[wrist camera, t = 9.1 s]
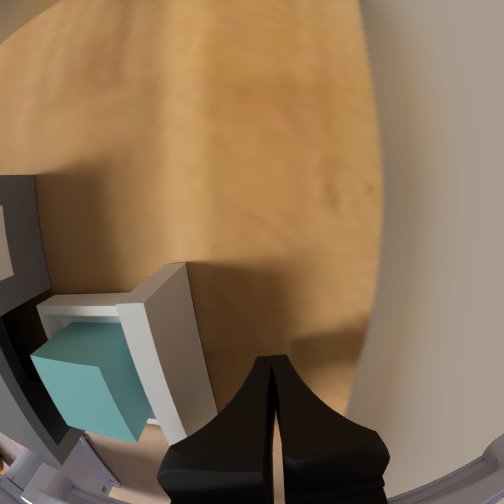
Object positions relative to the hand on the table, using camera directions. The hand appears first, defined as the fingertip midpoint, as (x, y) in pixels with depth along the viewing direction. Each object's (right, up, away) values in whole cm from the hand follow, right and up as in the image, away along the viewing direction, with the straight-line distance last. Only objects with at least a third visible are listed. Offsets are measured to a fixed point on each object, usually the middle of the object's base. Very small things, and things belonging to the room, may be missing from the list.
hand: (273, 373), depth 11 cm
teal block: (-9, -1, +2) cm, 9 cm away
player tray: (-8, 0, +2) cm, 8 cm away
